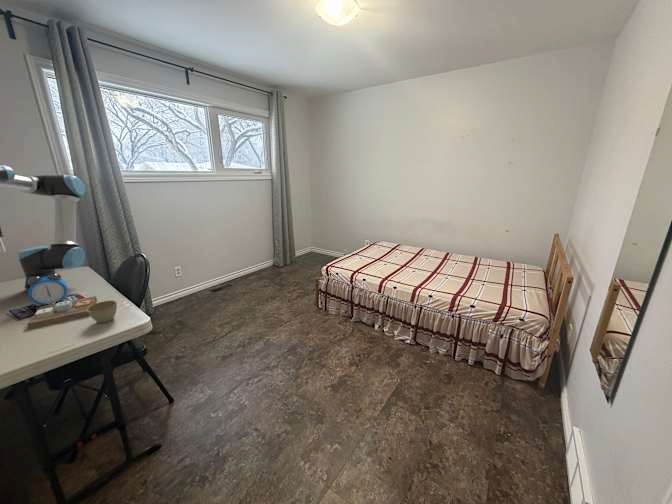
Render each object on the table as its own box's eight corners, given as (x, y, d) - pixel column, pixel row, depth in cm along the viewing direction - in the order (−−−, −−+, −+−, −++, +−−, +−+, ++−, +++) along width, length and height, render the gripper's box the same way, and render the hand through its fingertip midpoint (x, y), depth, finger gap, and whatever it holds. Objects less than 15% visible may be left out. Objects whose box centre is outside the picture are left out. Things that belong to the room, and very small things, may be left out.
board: (41, 311, 127) (40, 306, 126) (97, 300, 137) (95, 295, 137) (28, 328, 112) (26, 323, 112) (91, 314, 123) (90, 310, 122)
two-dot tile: (59, 308, 125) (57, 302, 124) (72, 305, 127) (70, 299, 126) (56, 312, 121) (54, 306, 120) (70, 309, 124) (68, 303, 123)
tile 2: (79, 307, 129) (77, 301, 128) (92, 305, 131) (90, 299, 130) (77, 311, 125) (75, 305, 124) (90, 308, 128) (88, 302, 127)
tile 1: (40, 315, 122) (38, 309, 121) (54, 312, 124) (52, 306, 123) (37, 320, 118) (34, 313, 117) (51, 316, 121) (49, 310, 120)
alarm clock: (33, 309, 128) (22, 280, 124) (34, 304, 133) (24, 276, 128) (70, 300, 137) (61, 273, 132) (71, 296, 141) (62, 270, 137)
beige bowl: (96, 317, 121) (92, 302, 119) (123, 312, 125) (119, 298, 123) (86, 328, 112) (82, 313, 110) (116, 323, 116) (112, 308, 114)
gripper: (-27, 197, 114) (-6, 250, 121) (-44, 199, 104) (-20, 257, 110) (0, 196, 118) (18, 247, 125) (-14, 198, 108) (7, 254, 114)
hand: (0, 252), depth 118 cm, fingers closed
